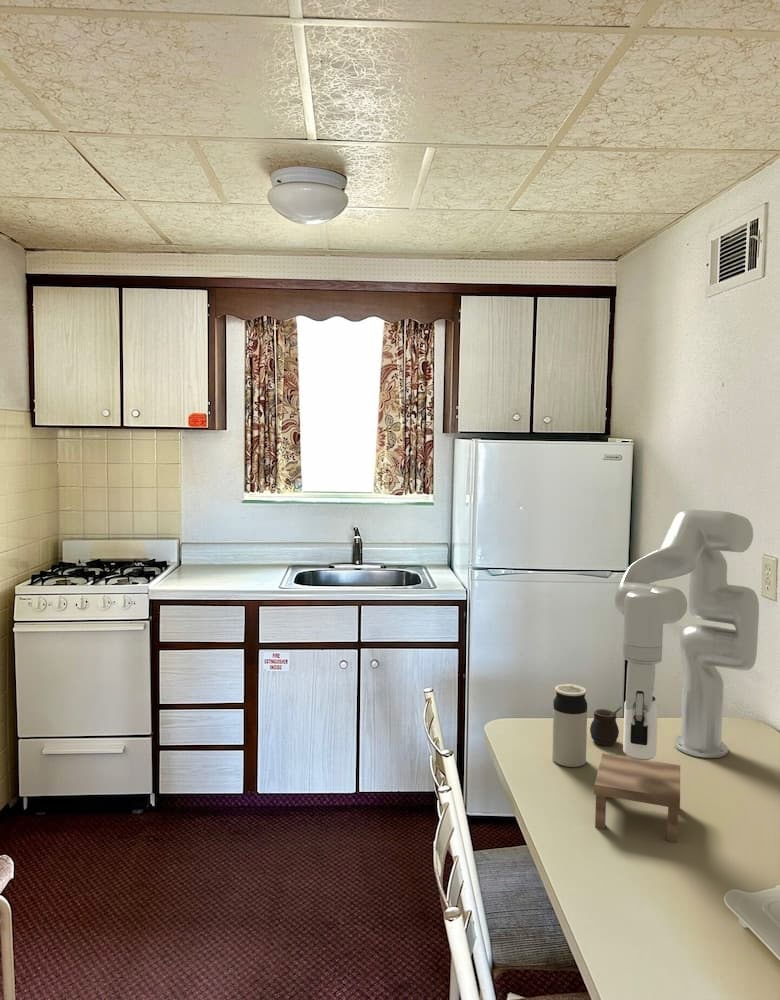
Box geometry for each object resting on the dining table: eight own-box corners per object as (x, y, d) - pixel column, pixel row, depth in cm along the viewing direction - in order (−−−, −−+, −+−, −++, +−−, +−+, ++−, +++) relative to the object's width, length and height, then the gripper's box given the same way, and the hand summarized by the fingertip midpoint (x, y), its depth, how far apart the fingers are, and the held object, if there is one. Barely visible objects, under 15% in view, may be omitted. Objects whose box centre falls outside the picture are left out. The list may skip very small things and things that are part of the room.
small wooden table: (601, 792, 163) (602, 753, 163) (678, 805, 157) (680, 765, 157) (593, 827, 148) (594, 784, 148) (678, 843, 143) (680, 798, 142)
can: (658, 762, 148) (660, 703, 147) (624, 759, 149) (626, 701, 148) (653, 749, 154) (655, 693, 153) (621, 746, 156) (622, 690, 155)
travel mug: (580, 771, 174) (581, 696, 173) (547, 763, 178) (549, 690, 177) (590, 758, 181) (591, 687, 179) (558, 751, 185) (560, 681, 184)
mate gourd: (587, 735, 195) (589, 698, 194) (617, 737, 194) (618, 700, 193) (591, 746, 188) (592, 708, 187) (621, 749, 187) (623, 710, 186)
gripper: (626, 639, 160) (623, 720, 161) (619, 661, 144) (617, 750, 145) (663, 643, 157) (660, 725, 158) (660, 665, 141) (657, 756, 142)
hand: (639, 736), depth 152 cm, fingers closed on can, 6 cm apart
